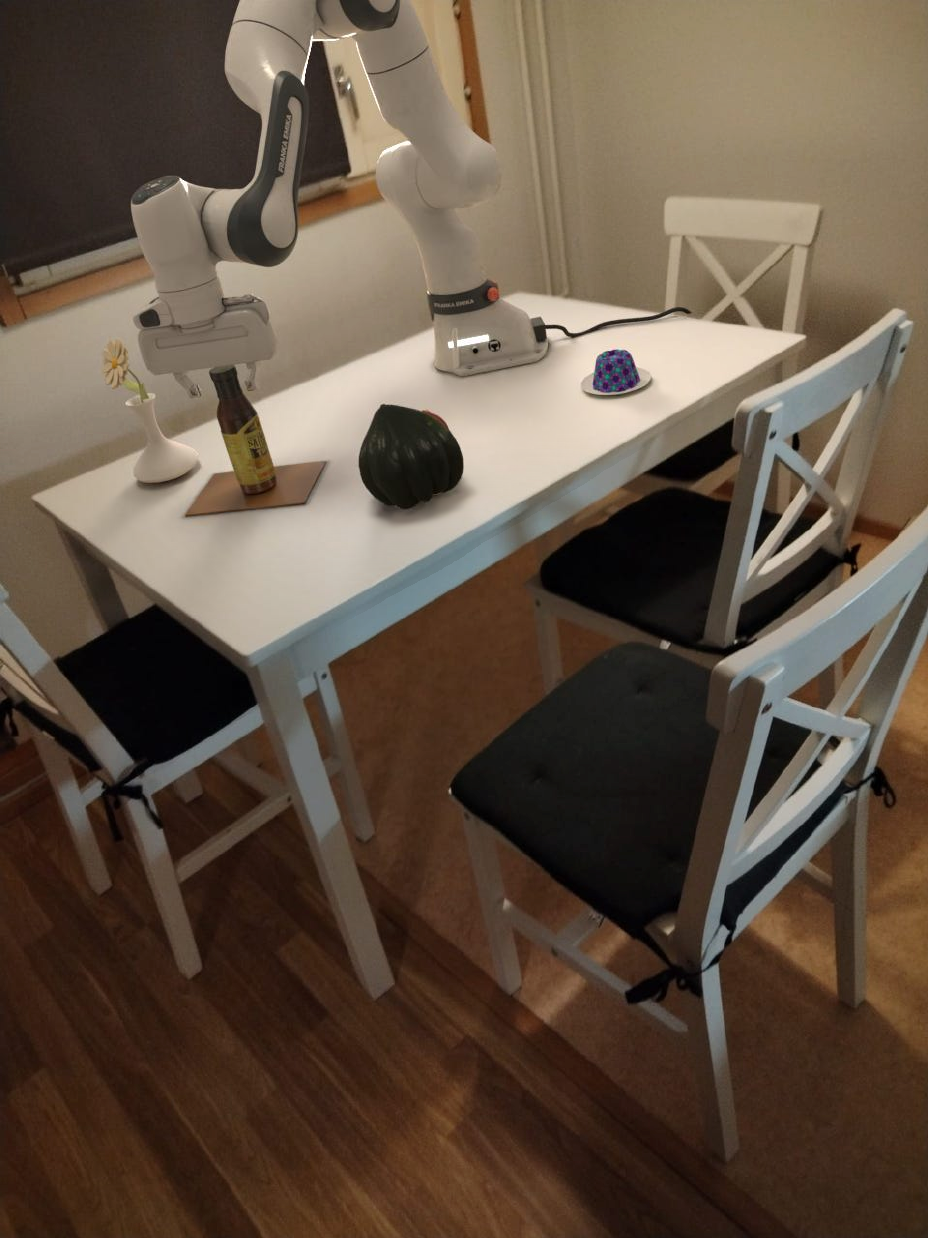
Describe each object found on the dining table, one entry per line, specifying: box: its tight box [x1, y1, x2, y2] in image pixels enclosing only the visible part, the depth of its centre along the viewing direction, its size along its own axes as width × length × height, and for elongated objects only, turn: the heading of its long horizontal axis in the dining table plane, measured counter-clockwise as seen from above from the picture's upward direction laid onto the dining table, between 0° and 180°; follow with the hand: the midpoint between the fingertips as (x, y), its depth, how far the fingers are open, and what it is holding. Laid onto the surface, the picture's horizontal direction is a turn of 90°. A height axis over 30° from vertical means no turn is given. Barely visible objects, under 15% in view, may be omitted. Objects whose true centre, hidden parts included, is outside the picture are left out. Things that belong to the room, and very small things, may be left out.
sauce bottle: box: [208, 364, 276, 494], centre depth 145 cm, size 7×6×20 cm
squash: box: [358, 403, 465, 510], centre depth 136 cm, size 14×15×15 cm
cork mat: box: [184, 460, 327, 517], centre depth 151 cm, size 20×14×1 cm
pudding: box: [580, 348, 652, 396], centre depth 158 cm, size 12×12×5 cm
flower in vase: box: [101, 336, 199, 484], centre depth 154 cm, size 13×11×25 cm
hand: (225, 393), depth 141 cm, fingers open, 8 cm apart
